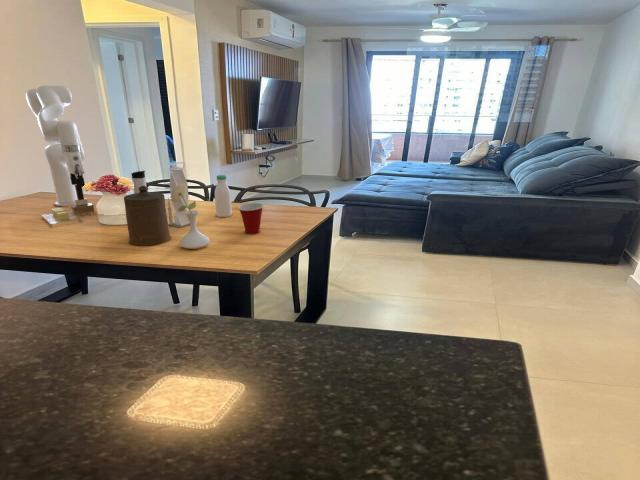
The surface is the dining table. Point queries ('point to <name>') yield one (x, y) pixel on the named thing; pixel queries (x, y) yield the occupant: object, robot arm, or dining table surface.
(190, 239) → the flower in vase
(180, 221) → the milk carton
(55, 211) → the butter
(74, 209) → the knife block
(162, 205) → the wooden container
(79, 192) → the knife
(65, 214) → the butter slice
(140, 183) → the travel mug
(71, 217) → the board
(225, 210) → the milk bottle
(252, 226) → the plastic cup
